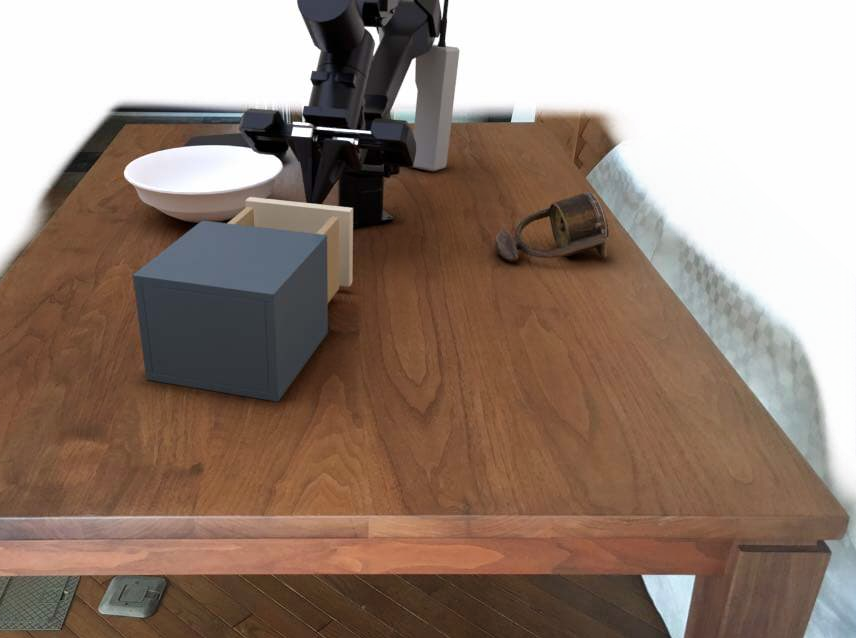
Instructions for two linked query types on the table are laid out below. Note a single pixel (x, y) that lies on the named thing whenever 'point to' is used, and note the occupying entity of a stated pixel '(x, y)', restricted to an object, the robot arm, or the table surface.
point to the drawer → (309, 230)
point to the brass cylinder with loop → (562, 229)
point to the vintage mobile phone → (435, 101)
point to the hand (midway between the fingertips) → (311, 211)
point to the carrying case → (222, 141)
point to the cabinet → (233, 308)
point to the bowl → (203, 180)
